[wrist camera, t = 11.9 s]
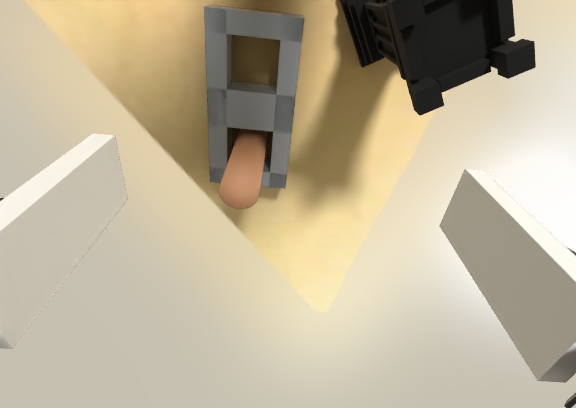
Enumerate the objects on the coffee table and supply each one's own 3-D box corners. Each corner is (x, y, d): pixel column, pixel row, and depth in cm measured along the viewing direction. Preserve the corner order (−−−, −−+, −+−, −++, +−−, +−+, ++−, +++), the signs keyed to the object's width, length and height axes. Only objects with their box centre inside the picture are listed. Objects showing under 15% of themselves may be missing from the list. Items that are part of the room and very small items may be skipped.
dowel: (237, 122, 43) (218, 172, 31) (268, 125, 43) (260, 176, 31) (237, 150, 45) (219, 207, 33) (266, 153, 45) (258, 210, 34)
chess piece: (361, 66, 39) (415, 123, 22) (338, -6, 35) (382, -3, 18) (428, 34, 37) (542, 70, 20) (411, -46, 33) (536, -82, 16)
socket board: (212, 5, 36) (204, 6, 32) (302, 15, 36) (304, 18, 33) (215, 168, 47) (210, 181, 43) (285, 174, 47) (285, 188, 44)
